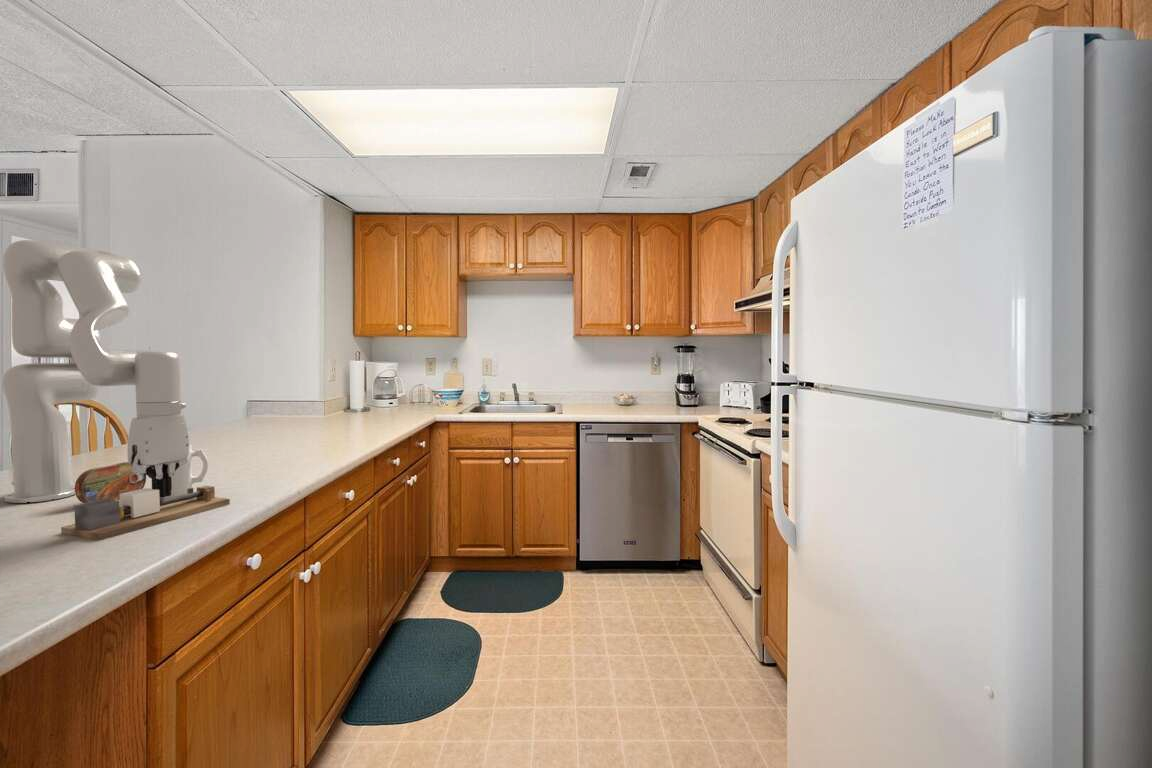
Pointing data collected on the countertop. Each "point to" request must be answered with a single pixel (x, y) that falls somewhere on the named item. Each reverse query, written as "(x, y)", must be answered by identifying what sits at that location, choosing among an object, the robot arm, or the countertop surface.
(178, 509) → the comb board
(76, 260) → the robot arm
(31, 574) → the countertop surface
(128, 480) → the tin
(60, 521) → the countertop surface
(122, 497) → the off-white block
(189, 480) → the mug
